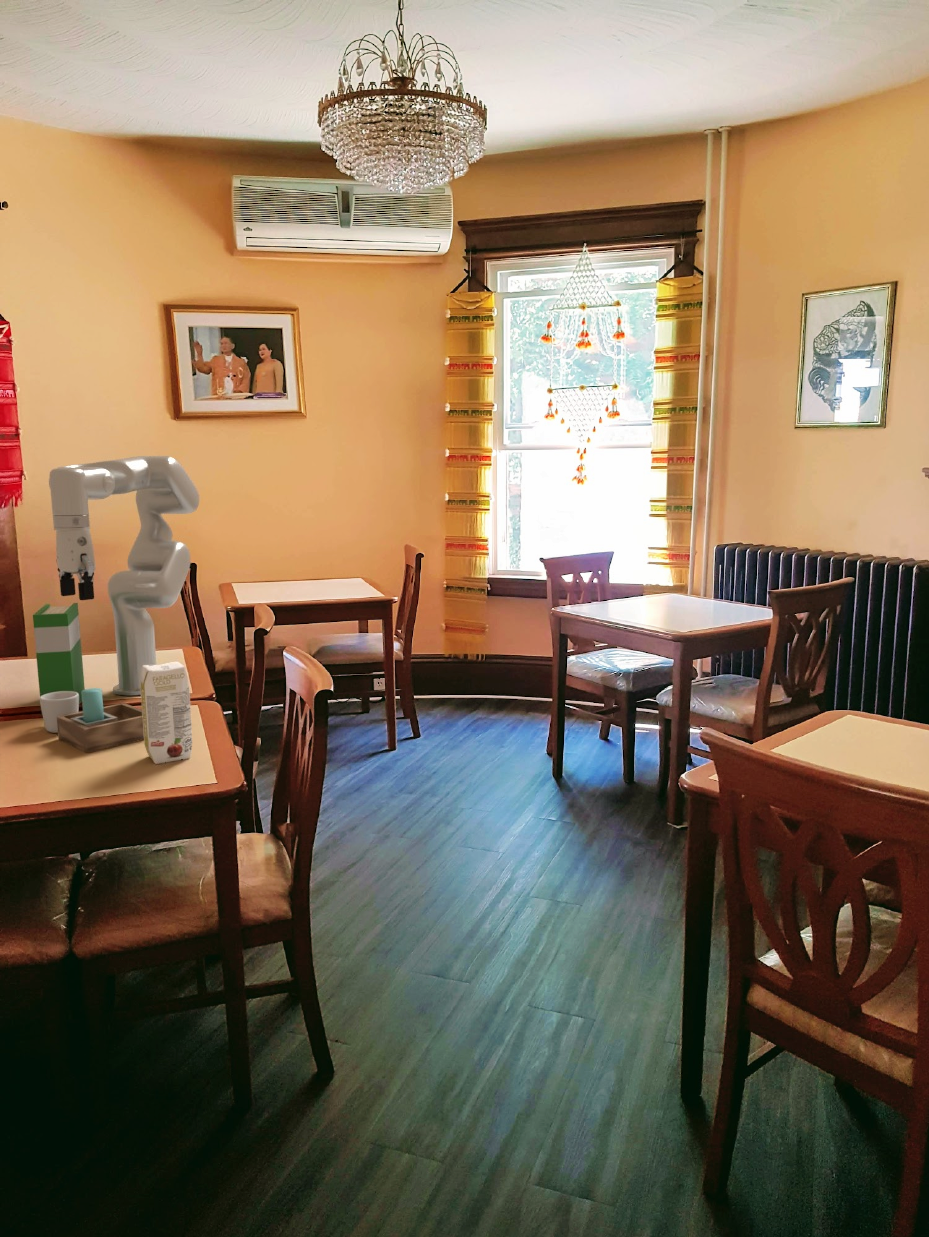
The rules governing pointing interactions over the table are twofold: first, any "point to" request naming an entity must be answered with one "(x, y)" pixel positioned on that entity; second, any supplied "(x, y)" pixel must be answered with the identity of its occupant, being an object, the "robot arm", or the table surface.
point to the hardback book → (58, 649)
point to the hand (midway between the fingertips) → (77, 597)
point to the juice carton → (166, 712)
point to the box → (103, 729)
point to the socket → (107, 718)
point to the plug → (92, 705)
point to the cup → (58, 707)
